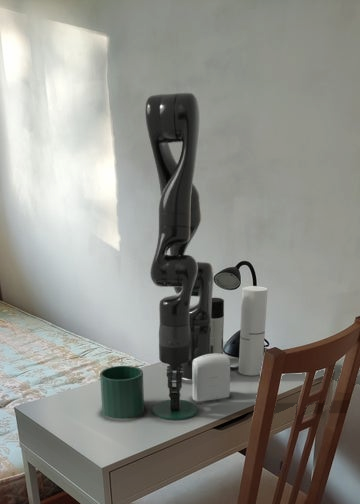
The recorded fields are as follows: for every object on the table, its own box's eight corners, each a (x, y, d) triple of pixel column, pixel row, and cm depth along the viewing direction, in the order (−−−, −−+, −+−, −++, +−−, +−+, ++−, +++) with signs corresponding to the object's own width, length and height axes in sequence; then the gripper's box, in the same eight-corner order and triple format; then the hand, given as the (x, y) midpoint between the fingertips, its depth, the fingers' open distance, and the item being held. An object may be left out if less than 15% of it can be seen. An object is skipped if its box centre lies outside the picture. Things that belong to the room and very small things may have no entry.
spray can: (225, 364, 167) (227, 301, 159) (205, 366, 165) (206, 302, 157) (218, 357, 173) (219, 296, 165) (198, 359, 171) (199, 297, 163)
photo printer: (195, 404, 138) (196, 359, 133) (189, 398, 142) (190, 354, 137) (231, 399, 141) (233, 354, 136) (225, 393, 145) (226, 349, 140)
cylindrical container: (261, 376, 157) (266, 291, 147) (237, 374, 158) (241, 290, 148) (262, 368, 163) (268, 286, 153) (239, 366, 165) (243, 285, 155)
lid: (176, 400, 141) (176, 380, 138) (207, 412, 133) (207, 391, 131) (143, 412, 133) (142, 391, 131) (174, 426, 126) (174, 404, 124)
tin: (126, 400, 141) (124, 362, 136) (152, 412, 134) (151, 372, 130) (94, 411, 134) (91, 372, 130) (119, 424, 127) (117, 383, 123)
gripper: (190, 350, 119) (190, 420, 126) (190, 333, 132) (190, 397, 139) (157, 350, 120) (158, 419, 126) (160, 333, 132) (161, 397, 139)
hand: (175, 407), depth 133 cm, fingers closed on lid, 2 cm apart
